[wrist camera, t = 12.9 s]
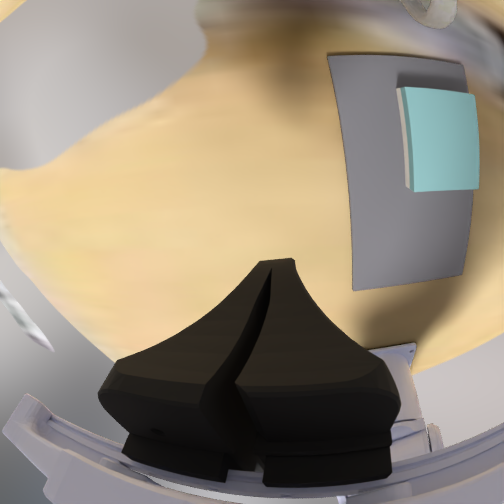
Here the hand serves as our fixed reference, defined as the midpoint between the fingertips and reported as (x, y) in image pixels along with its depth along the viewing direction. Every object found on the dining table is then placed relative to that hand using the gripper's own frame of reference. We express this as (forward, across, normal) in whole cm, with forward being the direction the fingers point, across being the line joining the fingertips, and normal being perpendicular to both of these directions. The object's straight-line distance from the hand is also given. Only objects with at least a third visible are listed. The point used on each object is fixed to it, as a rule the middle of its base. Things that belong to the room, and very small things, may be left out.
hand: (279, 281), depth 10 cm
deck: (+9, -9, -4) cm, 13 cm away
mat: (+10, -10, -1) cm, 14 cm away
